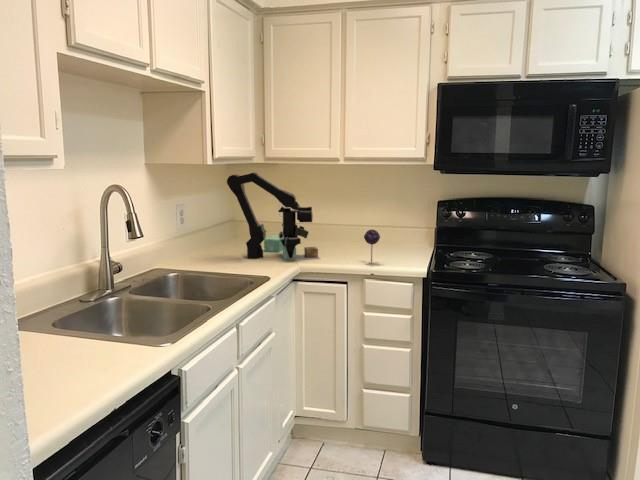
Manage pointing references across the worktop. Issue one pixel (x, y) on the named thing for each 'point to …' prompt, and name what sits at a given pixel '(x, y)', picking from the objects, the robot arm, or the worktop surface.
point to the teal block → (285, 254)
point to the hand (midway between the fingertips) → (289, 256)
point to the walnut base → (311, 252)
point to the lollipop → (371, 238)
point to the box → (273, 244)
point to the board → (300, 258)
